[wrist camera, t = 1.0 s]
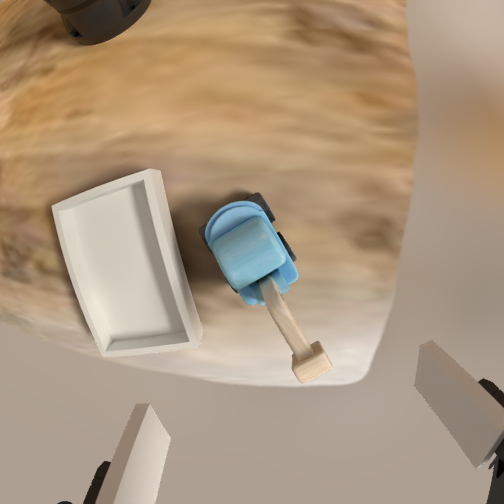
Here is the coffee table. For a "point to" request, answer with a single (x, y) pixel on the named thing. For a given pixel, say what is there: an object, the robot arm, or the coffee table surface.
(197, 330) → the white tray
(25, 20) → the coffee table surface
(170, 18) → the coffee table surface
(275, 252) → the toy excavator
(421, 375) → the robot arm
